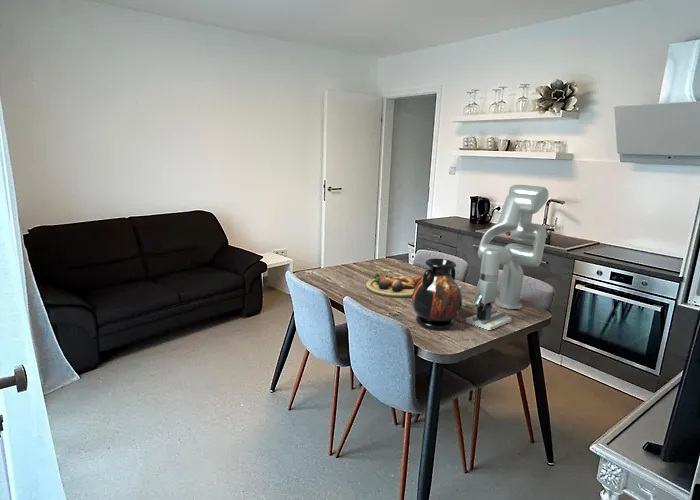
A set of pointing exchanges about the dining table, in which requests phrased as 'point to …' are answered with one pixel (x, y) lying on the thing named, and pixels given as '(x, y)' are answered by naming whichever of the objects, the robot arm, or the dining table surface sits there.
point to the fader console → (489, 320)
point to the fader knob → (487, 312)
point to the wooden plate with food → (392, 286)
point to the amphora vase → (437, 296)
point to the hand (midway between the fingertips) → (483, 316)
